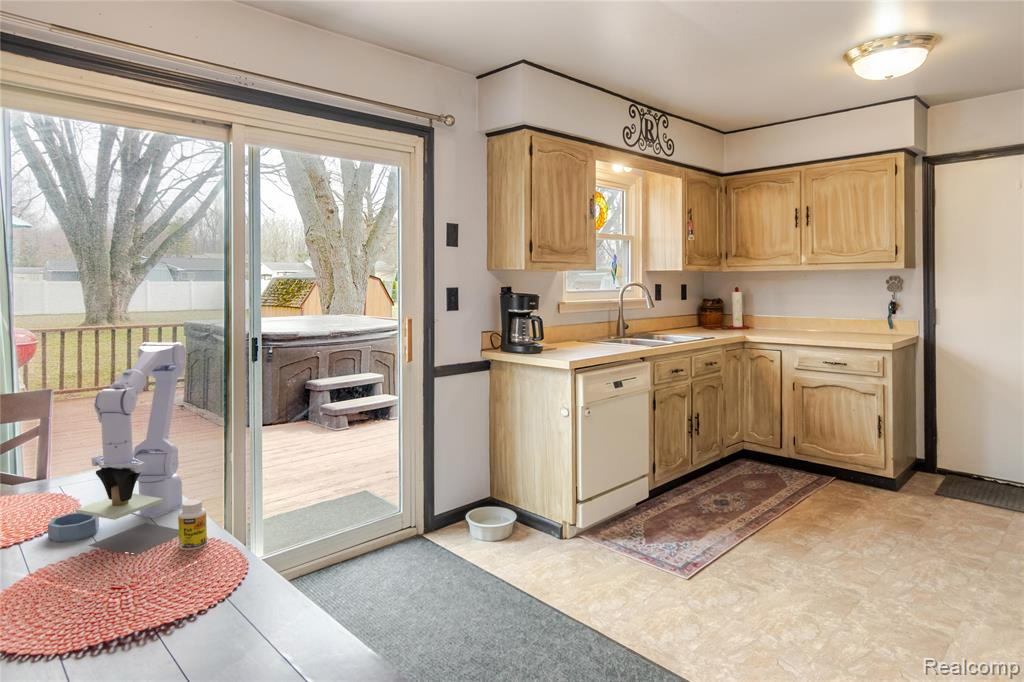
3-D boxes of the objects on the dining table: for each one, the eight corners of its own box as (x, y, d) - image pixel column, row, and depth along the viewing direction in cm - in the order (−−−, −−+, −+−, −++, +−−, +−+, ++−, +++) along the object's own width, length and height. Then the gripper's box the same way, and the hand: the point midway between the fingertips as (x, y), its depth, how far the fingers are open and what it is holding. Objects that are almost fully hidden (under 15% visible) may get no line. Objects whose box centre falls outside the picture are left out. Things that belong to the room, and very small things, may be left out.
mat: (145, 524, 150) (145, 522, 149) (188, 533, 145) (188, 531, 145) (88, 546, 136) (88, 545, 136) (133, 557, 132) (133, 555, 132)
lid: (125, 495, 148) (124, 476, 148) (162, 501, 144) (162, 481, 144) (75, 512, 137) (74, 491, 136) (114, 519, 133) (113, 498, 132)
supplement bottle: (180, 553, 134) (178, 508, 133) (178, 544, 138) (176, 500, 137) (208, 548, 137) (207, 503, 136) (205, 539, 141) (204, 496, 140)
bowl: (80, 525, 148) (79, 509, 148) (107, 531, 145) (106, 515, 145) (40, 540, 140) (39, 523, 139) (67, 546, 137) (66, 529, 136)
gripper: (77, 442, 138) (80, 500, 139) (124, 448, 133) (127, 509, 134) (107, 435, 144) (109, 490, 146) (153, 441, 139) (155, 498, 141)
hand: (120, 499), depth 140 cm, fingers closed on lid, 3 cm apart
